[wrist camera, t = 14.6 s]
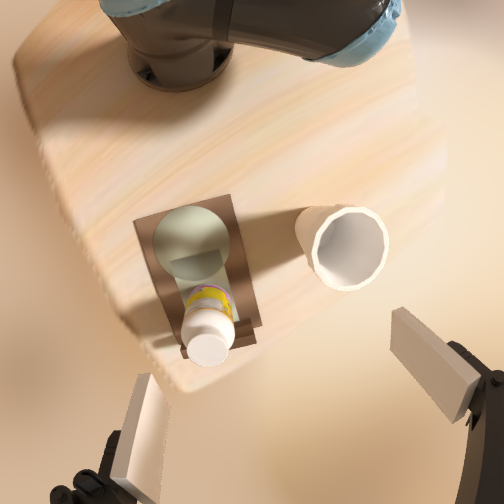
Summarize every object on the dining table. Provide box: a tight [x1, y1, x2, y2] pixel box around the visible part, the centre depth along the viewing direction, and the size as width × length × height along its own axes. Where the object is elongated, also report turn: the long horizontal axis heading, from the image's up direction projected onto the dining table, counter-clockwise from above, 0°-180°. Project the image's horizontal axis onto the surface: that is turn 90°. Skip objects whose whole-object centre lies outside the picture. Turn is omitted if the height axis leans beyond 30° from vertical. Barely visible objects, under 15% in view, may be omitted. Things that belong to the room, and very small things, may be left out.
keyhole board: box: [135, 194, 262, 359], centre depth 39 cm, size 21×14×5 cm, turn 13°
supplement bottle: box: [181, 284, 235, 367], centre depth 36 cm, size 7×7×13 cm
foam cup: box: [294, 204, 389, 291], centre depth 35 cm, size 10×9×13 cm
